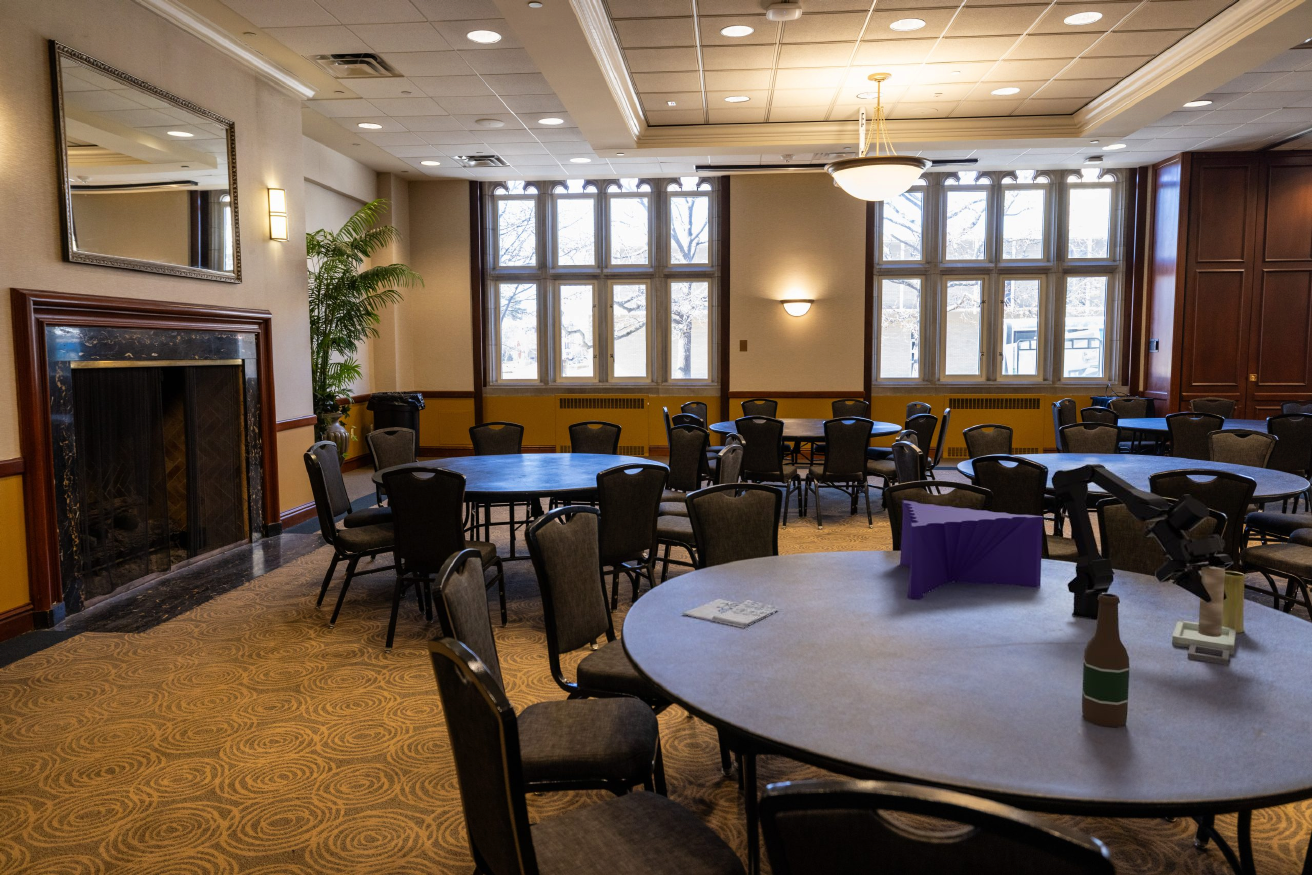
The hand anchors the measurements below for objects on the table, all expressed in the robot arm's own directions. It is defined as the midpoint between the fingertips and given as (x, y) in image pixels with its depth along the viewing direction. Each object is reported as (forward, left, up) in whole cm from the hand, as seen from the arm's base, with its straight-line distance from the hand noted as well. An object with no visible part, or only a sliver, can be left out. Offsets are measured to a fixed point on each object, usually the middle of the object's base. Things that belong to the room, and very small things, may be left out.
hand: (1217, 600), depth 191 cm
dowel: (-1, +1, -8) cm, 8 cm away
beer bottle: (-15, -50, -14) cm, 54 cm away
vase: (+2, +27, -14) cm, 30 cm away
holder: (-1, +1, -13) cm, 13 cm away
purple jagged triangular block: (-70, +28, -14) cm, 77 cm away
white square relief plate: (-108, -31, -14) cm, 114 cm away
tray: (-3, +13, -13) cm, 19 cm away
